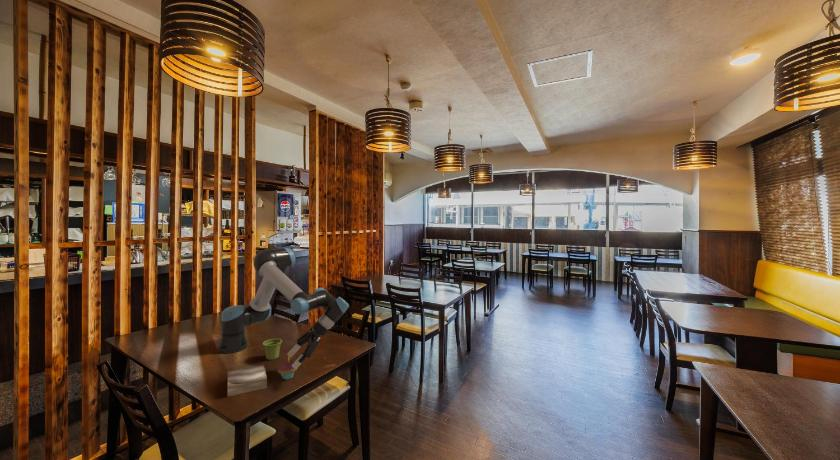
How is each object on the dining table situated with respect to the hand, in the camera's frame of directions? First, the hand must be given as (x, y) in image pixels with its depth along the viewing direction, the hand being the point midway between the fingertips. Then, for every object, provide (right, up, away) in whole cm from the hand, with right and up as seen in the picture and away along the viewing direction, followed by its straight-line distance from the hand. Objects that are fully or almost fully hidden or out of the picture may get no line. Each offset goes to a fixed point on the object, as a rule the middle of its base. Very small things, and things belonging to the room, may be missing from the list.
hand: (291, 361), depth 151 cm
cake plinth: (-17, -7, -7) cm, 20 cm away
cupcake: (-2, -8, 0) cm, 8 cm away
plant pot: (-18, -6, +21) cm, 28 cm away
